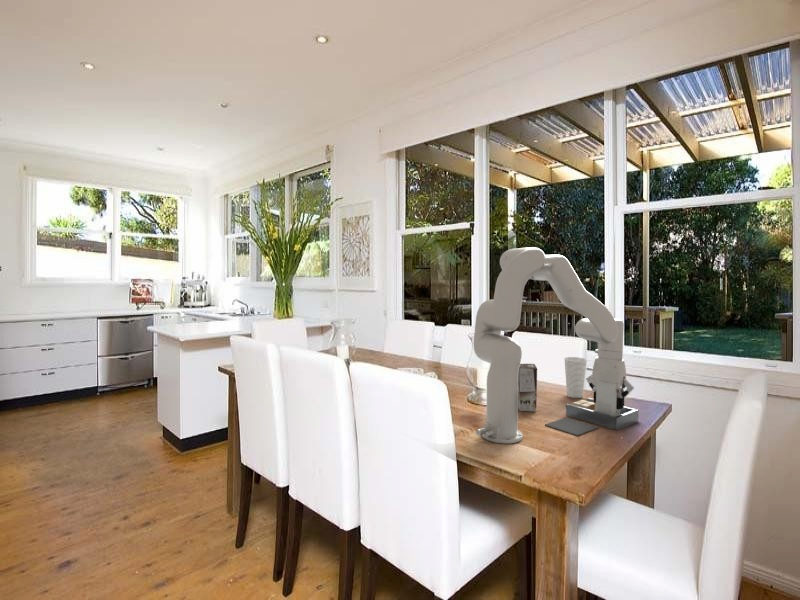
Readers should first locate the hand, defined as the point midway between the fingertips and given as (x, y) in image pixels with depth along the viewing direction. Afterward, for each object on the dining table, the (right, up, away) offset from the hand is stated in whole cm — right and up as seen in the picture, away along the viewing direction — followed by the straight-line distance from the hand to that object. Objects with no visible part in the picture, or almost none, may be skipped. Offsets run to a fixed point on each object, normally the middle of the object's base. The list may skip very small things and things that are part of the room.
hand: (608, 405), depth 152 cm
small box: (0, -5, 0) cm, 5 cm away
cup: (0, -4, +30) cm, 30 cm away
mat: (-15, -6, -6) cm, 17 cm away
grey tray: (-1, -5, +3) cm, 6 cm away
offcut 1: (-6, -5, +9) cm, 12 cm away
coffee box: (-24, -5, +15) cm, 28 cm away
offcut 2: (-4, -5, +7) cm, 9 cm away
